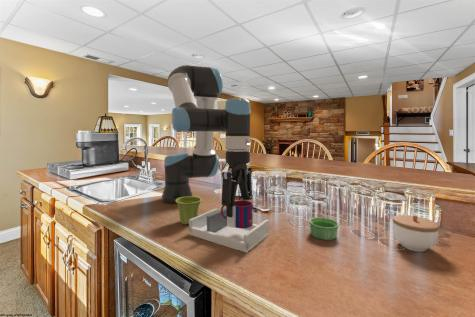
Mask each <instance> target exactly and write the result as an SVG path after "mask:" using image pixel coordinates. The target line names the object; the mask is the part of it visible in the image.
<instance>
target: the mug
mask: <svg viewBox="0 0 475 317" xmlns="http://www.w3.org/2000/svg"><path fill="white" fill-rule="evenodd" d="M234 206H236V227H235V228H241V229H243V228H249V227H251V226H252V225H253V224H254V223H253V220H254V212H253V210H254V209H253V208H254V207H253V206H254V203H253V202H252V201H251V200H248V201H244V200H240V199H239V200H235V202H234ZM225 207H226V206H225V205H222V206H221V207H220V208H221V209H220V210H221V214H222V216H223V218H225V219H226V220H227V217H226V216H224V214H223V209H224V208H225Z"/></svg>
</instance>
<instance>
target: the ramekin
mask: <svg viewBox="0 0 475 317" xmlns="http://www.w3.org/2000/svg"><path fill="white" fill-rule="evenodd" d="M309 226H310V229H309V230H310V234H311V236H313V237H314V238H316V239H320V240H323V241H324V240H325V241H330V240H335V239H336V238H337V237H338V236H337V235H338V229H339V226H340V225H339V222H337V220H334V219H332V218H329V217H320V216H319V217H312V218H310V219H309Z"/></svg>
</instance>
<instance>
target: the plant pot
mask: <svg viewBox="0 0 475 317" xmlns="http://www.w3.org/2000/svg"><path fill="white" fill-rule="evenodd" d="M176 202H177V203H176V205H177V208H178V214H179V220H180V224H183V225H189V220H190V219H192V218H194V217H197V216H199V210H200V205H201V202H202V198H201V197H199V196H193V197H192V196H188V197H181V198H178V199H176Z"/></svg>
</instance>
